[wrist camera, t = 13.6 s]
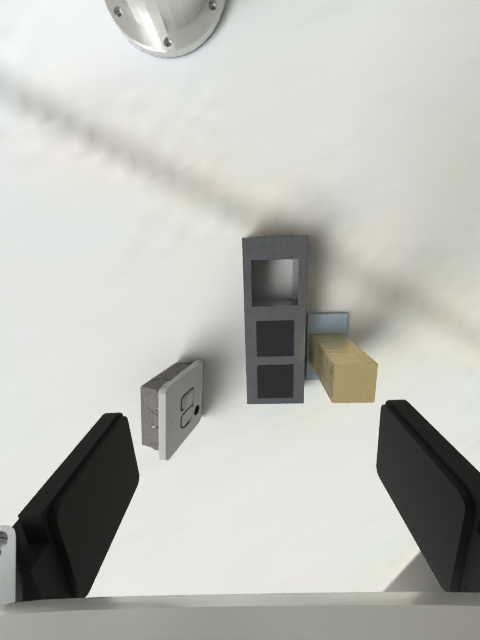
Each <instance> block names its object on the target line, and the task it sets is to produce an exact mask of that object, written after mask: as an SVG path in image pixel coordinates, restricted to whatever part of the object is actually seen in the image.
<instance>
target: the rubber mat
mask: <svg viewBox="0 0 480 640" xmlns="http://www.w3.org/2000/svg"><path fill="white" fill-rule="evenodd" d="M347 322H348V313H317V314H307V338H306V380H317V379H319V378H318V376H317V374H316V372H315V371H314V369H313V367H312V365H311V363H310V347H311V334H318V333H343V334H344V335H345V336H346V337H347Z"/></svg>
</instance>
